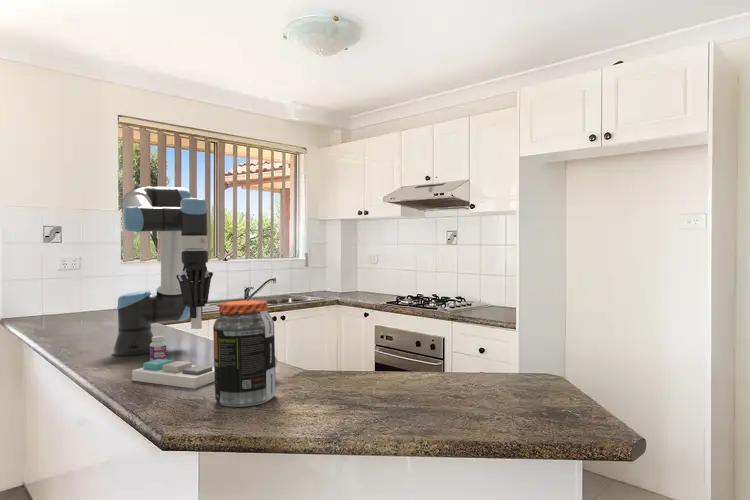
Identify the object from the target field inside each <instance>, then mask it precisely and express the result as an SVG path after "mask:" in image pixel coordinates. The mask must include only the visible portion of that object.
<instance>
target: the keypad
mask: <svg viewBox="0 0 750 500" xmlns="http://www.w3.org/2000/svg"><path fill="white" fill-rule="evenodd" d="M193 366H196V364H195V365H194V364H192V367H193ZM211 367H212V371H210V372H207V373H204V374H201V375H190V374H183V371H182V372H179V373H173V372H164V371H163V369H162V370H159V371H155V370H147V369H144V367H140V368H136V369H133V370H131V380H132V381H134V382H135V381H136V382H142V383H143V382H144V383H151V384H157V385H166V386H173V387H179V388H181V387H182V388H187V389H188V388H189V389H197V388H201V387H203V386H205V385H208V384H211V383H215V373H214V366H211Z"/></svg>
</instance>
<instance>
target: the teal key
mask: <svg viewBox="0 0 750 500" xmlns="http://www.w3.org/2000/svg"><path fill="white" fill-rule="evenodd" d="M172 362H174V360H172V359H167V360H165V359H156V360H153V361H150V360H149V361H146V362H143V363H142V364H143V365H142V366H143V367H144V369H147V370H155V371H159V370H162V369H163V365H165V364H168V363H172ZM143 367H142V368H143Z"/></svg>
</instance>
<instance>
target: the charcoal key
mask: <svg viewBox="0 0 750 500" xmlns="http://www.w3.org/2000/svg"><path fill="white" fill-rule="evenodd" d="M212 367H213V366H209V365H208V366H206V365H199V364H198V365H196V364H195V366H193V367H190V368H187V369H183V370H182V371H183V374H190V375H201V374H204V373H207V372H210V371H212Z"/></svg>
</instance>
